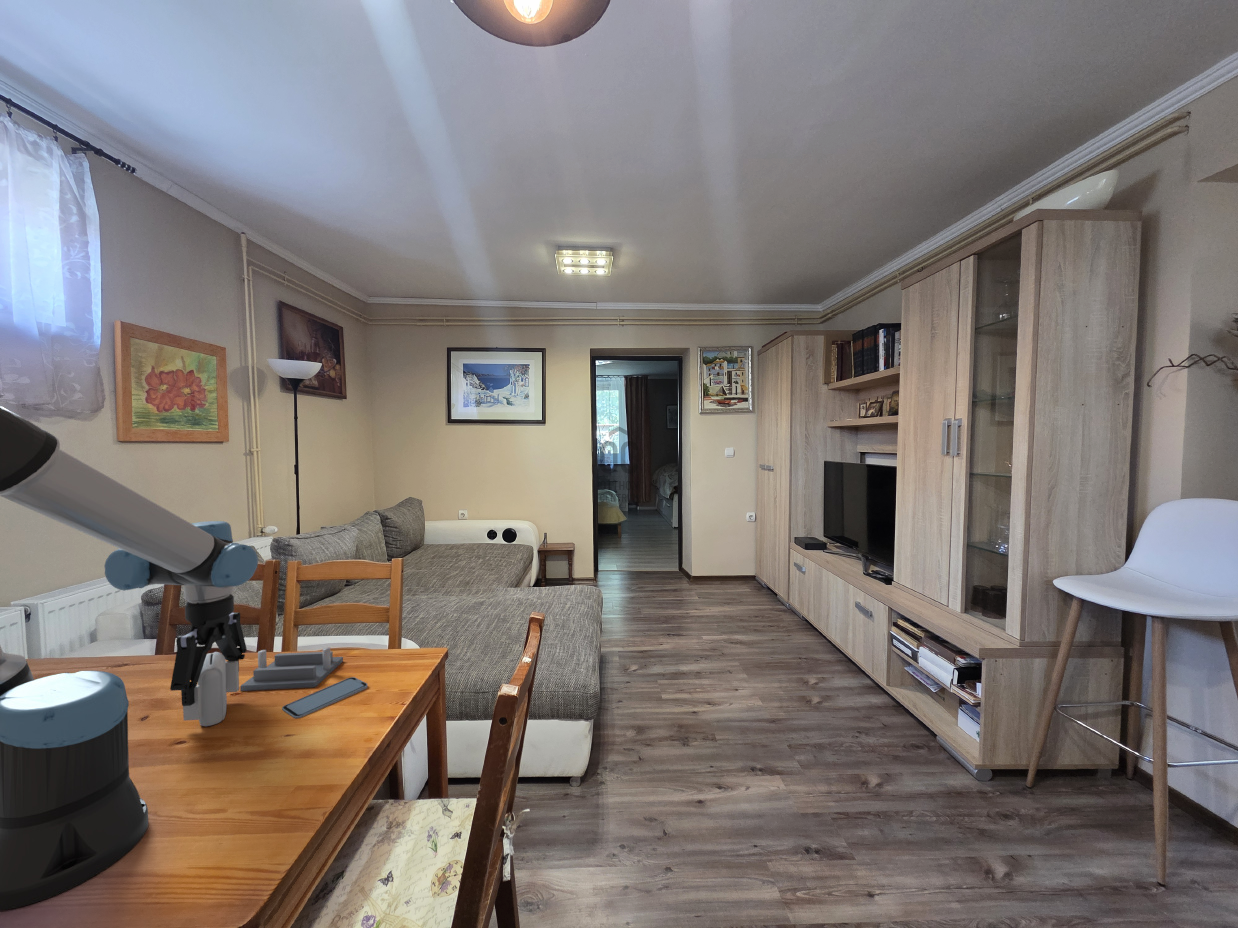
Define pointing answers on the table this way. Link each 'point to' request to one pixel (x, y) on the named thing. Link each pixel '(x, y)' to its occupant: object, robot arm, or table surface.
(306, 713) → the smartphone
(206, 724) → the photo printer
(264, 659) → the cradle
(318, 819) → the table surface
